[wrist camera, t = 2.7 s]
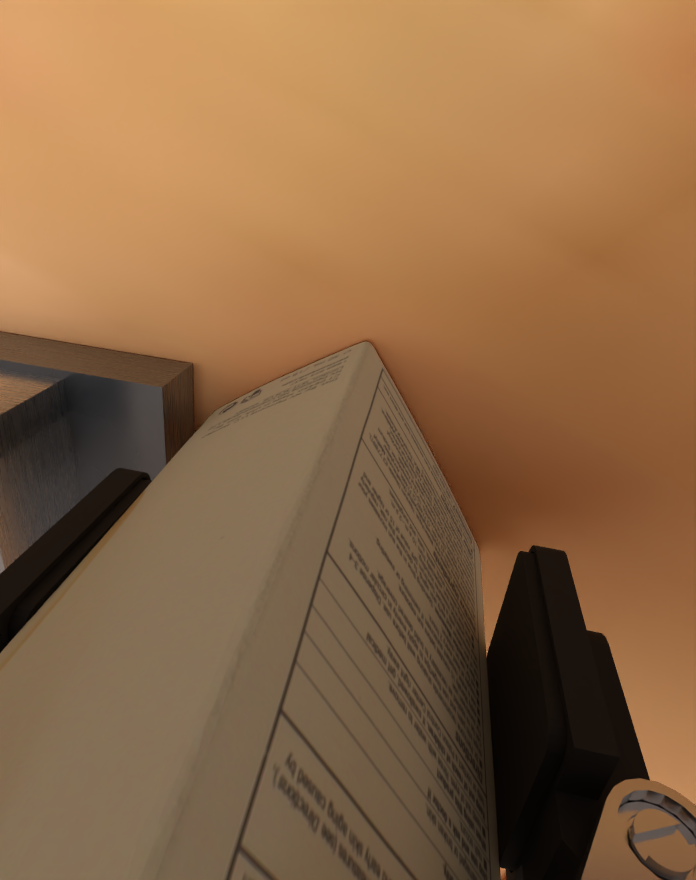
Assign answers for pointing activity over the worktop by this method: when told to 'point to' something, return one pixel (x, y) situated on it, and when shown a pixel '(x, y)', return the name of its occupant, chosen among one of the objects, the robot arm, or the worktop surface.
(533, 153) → the worktop surface
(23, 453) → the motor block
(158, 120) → the worktop surface
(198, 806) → the skincare box
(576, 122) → the worktop surface
